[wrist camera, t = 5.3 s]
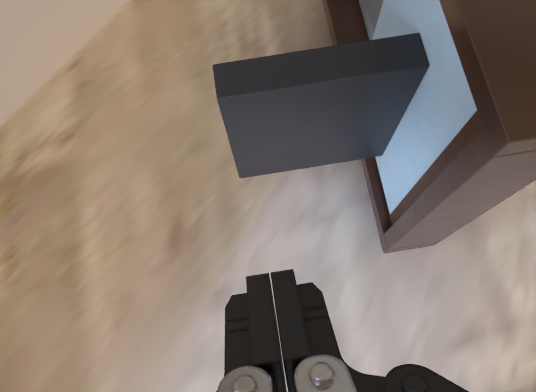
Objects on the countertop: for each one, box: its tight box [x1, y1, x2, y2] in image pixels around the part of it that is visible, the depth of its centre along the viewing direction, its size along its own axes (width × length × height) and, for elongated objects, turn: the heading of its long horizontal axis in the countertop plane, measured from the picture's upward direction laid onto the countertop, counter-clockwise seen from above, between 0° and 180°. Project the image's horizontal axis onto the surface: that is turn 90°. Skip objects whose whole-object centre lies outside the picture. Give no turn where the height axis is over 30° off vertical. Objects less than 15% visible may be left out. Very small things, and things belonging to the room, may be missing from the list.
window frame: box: [323, 0, 536, 253], centre depth 23 cm, size 22×3×16 cm, turn 9°
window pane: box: [213, 0, 483, 225], centre depth 21 cm, size 10×9×13 cm
